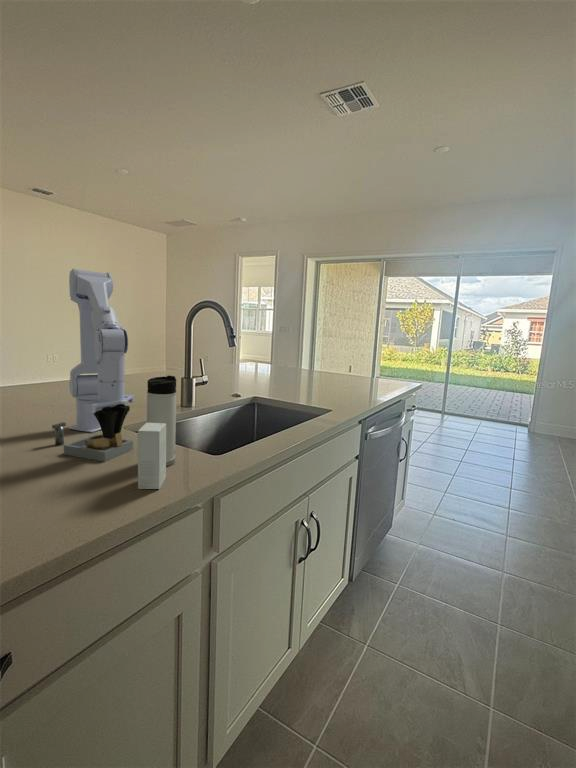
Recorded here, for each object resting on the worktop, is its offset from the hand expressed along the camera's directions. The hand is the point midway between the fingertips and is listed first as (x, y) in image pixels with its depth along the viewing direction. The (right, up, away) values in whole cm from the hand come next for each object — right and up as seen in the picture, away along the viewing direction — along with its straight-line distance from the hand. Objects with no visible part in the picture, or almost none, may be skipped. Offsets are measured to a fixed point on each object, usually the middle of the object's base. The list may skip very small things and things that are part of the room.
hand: (111, 436), depth 94 cm
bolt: (-15, -3, +5) cm, 16 cm away
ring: (-2, -3, +1) cm, 3 cm away
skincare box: (+15, -8, -14) cm, 22 cm away
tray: (-4, -4, +2) cm, 5 cm away
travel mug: (+13, -6, -3) cm, 14 cm away
